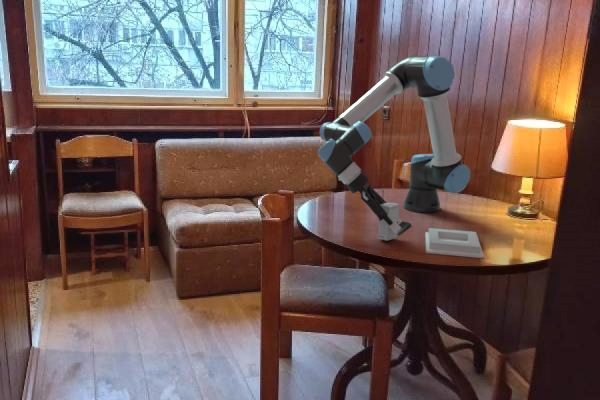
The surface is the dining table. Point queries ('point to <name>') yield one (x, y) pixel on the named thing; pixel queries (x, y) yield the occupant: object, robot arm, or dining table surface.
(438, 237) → the socket stand
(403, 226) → the phone
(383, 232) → the skincare box
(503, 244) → the dining table surface
